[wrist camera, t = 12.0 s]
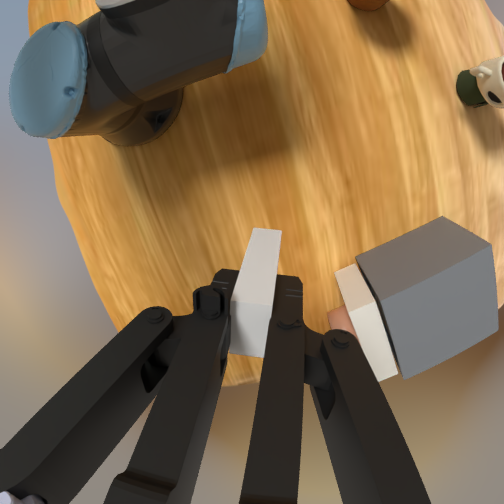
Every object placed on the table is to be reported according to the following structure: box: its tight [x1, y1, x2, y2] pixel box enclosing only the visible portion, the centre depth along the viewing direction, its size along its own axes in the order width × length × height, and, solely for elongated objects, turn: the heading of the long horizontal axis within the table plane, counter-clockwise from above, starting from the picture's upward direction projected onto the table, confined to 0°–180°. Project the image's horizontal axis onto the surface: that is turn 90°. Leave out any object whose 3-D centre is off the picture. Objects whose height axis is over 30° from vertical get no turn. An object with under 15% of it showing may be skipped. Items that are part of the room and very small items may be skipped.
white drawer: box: [327, 263, 398, 382], centre depth 41 cm, size 21×13×12 cm, turn 117°
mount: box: [356, 216, 498, 380], centre depth 40 cm, size 16×14×14 cm
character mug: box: [457, 56, 504, 108], centre depth 29 cm, size 11×7×13 cm, turn 86°
